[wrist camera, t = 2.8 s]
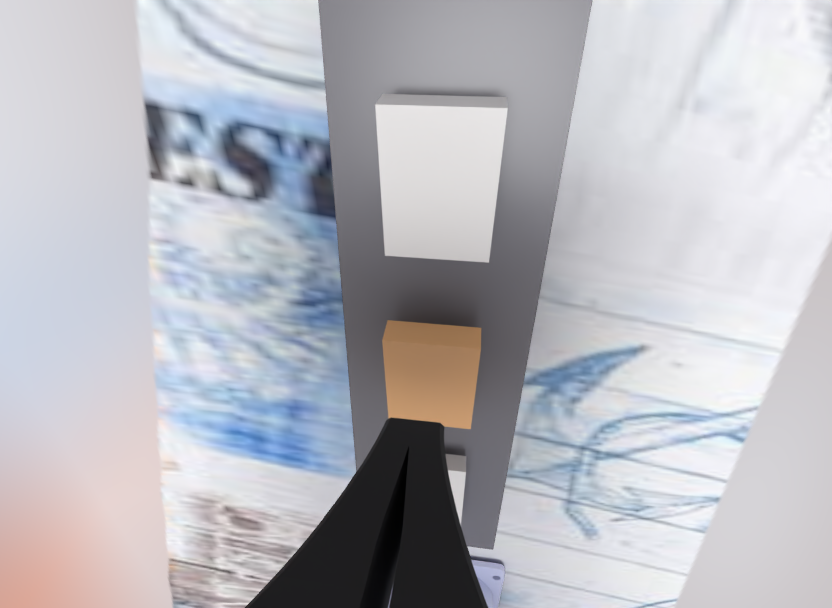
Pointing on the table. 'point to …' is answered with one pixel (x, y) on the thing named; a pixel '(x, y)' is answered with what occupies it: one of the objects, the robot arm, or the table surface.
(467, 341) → the peach rectangular tile
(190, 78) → the table surface
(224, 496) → the table surface
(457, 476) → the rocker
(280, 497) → the table surface
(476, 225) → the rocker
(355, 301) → the power strip
